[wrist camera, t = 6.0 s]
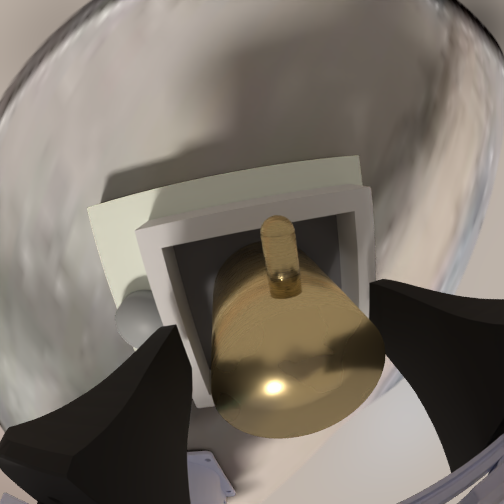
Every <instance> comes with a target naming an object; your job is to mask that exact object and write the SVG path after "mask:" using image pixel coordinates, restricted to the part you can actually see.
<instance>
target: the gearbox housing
mask: <svg viewBox="0 0 504 504" xmlns="http://www.w3.org/2000/svg"><path fill="white" fill-rule="evenodd" d="M87 211H88V215H89V219H90V223H91V227H92V231H93V235H94V239H95V242H96V246H97V249H98V253H99V256H100V259H101V263H102V266H103V269H104V272H105V275H106V278H107V281H108V284H109V287H110V290H111V293H112V296H113V298H114V301H115V304H116V306H117V311H116V315H115V323H116V327H117V330H118V332H119V334H120V335H121V337H122V338H123V339H124V340H125V341H126V342H127V343H128V344H130V345H131V346H133V348H134V350H135V351H136V350H137V349H138V348H139V347H140V346H141V345H142V344H143V343H144V342H145V341H146V340H147V339H148V338H149V337H150V336H151V335H152V334H153V333H154V332H155V331H156V330H157V329H158V328H160V327H162V326H169V325H175V324H176V325H177V328H178V330H179V333H180V336H181V339H182V342H183V345H184V348H185V350H186V353H187V356H188V358H189V361H190V364H191V366H192V380H193V392H192V398H193V400H194V402H195V405H196V407H197V408H204V407H212V406H215V405H214V402H213V399H212V393H211V348H212V311H213V289H214V283H215V279H216V276H217V274H218V272H219V270H220V268H221V267H222V265H223V264H224V263H225V261H226V260H227V259H228V258H229V257H230V256H231V255H232V254H234V253H235V252H236V251H238V250H239V249H241V248H243V247H245V246H247V245H249V244H252V243H256V242H260V241H261V236H260V229H261V226H262V224H263V222H264V221H265V220H266V219H267V218H269V217H271V216H273V215H281V216H284V217H286V218H288V219H289V220H290V221H291V222H292V224H293V226H294V229H295V236H296V243H297V248H299V249H300V250H302V251H303V252H304V253H305V254H307V255H308V256H309V257H310V258H311V259H312V260H313V261H314V262H315V263H316V265H317V266H318V267H319V268H320V269H321V270H322V271H323V272H324V273H325V274H326V275H327V276H328V277H329V278H330V279H331V280H332V281H333V282H334V283H335V284H336V285H337V286H338V287H339V288H340V289H341V290H342V291H343V292H344V293H345V294H346V295H347V296H348V297H349V298H350V299H351V301H352V302H353V303H354V304H355V305H356V306H357V307H358V308H359V309H360V310H361V311H362V312H363V313H364V314H365V315H366V316H367V317H368V319H369V283H370V282H374V281H376V262H375V233H374V217H373V204H372V192H371V187H368V186H363V184H362V176H361V167H360V160H359V155H353V156H340V157H331V158H322V159H313V160H305V161H298V162H290V163H283V164H276V165H270V166H264V167H257V168H251V169H246V170H240V171H234V172H229V173H224V174H219V175H214V176H209V177H204V178H199V179H194V180H190V181H185V182H181V183H176V184H172V185H168V186H163V187H159V188H155V189H151V190H147V191H143V192H140V193H136V194H132V195H128V196H125V197H121V198H117V199H114V200H110V201H107V202H103V203H100V204H97V205H94V206H91V207H88V208H87Z"/></svg>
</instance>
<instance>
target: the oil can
mask: <svg viewBox="0 0 504 504" xmlns="http://www.w3.org/2000/svg"><path fill="white" fill-rule="evenodd" d="M260 236H261V241H260V242H256V243H252V244H249V245H247V246H245V247H243V248H241V249H239V250H238V251H236V252H235V253H234V254H232V255H231V256H230V257H229V258H228V259H227V260H226V261H225V263H224V264H223V265H222V267H221V268H220V270H219V272H218V274H217V276H216V279H215V283H214V289H213V311H212V348H211V393H212V399H213V402H214V405H215V407H216V409H217V411H218V412H219V413H220V415H221V416H222V417H223V418H224V419H225V420H226V421H227V422H228V423H229V424H231V425H232V426H234V427H235V428H237V429H239V430H241V431H243V432H245V433H248V434H251V435H255V436H259V437H265V438H293V437H299V436H304V435H308V434H312V433H315V432H318V431H321V430H323V429H326V428H328V427H330V426H332V425H334V424H336V423H338V422H339V421H341V420H342V419H344V418H346V417H347V416H348V415H350V414H351V413H352V412H354V411H355V410H356V409H357V408H358V407H359V406H360V405H361V404H362V403H363V402H364V401H365V400H366V399H367V398H368V397H369V395H370V394H371V393H372V391H373V390H374V388H375V387H376V385H377V383H378V381H379V379H380V377H381V374H382V371H383V368H384V363H385V345H384V341H383V338H382V336H381V334H380V332H379V330H378V329H377V328H376V326H375V325H374V324H373V323H372V322H371V321H370V320H369V319H368V317H367V316H366V315H365V314H364V313H363V312H362V311H361V310H360V309H359V308H358V307H357V306H356V305H355V304H354V303H353V302H352V301H351V299H350V298H349V297H348V296H347V295H346V294H345V293H344V292H343V291H342V290H341V289H340V288H339V287H338V286H337V285H336V284H335V283H334V282H333V281H332V280H331V279H330V278H329V277H328V276H327V275H326V274H325V273H324V272H323V271H322V270H321V269H320V268H319V267H318V266H317V265H316V263H315V262H314V261H313V260H312V259H311V258H310V257H309V256H308V255H307V254H305V253H304V252H303V251H302V250H300V249H299V248H297V243H296V236H295V229H294V226H293V224H292V222H291V221H290V220H289V219H288V218H286V217H284V216H281V215H273V216H271V217H269V218H267V219H266V220H265V221H264V222H263V224H262V226H261V229H260Z"/></svg>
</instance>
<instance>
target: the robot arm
mask: <svg viewBox="0 0 504 504" xmlns="http://www.w3.org/2000/svg"><path fill="white" fill-rule="evenodd" d="M369 320H370V321H371V322H372V323H373V324H374V325H375V326H376V328H377V329H378V330H379V332H380V334H381V336H382V338H383V341H384V345H385V354H386V355H387V357H388V358H389V359H390V360H391V362H392V363H393V364H394V365H395V367H396V368H397V369H398V370H399V371H400V373H401V374H402V375H403V376H404V378H405V379H406V380H407V381H408V383H409V384H410V385H411V387H412V388H413V390H414V391H415V392H416V394H417V396H418V398H419V399H420V401H421V403H422V404H423V406H424V408H425V410H426V412H427V414H428V416H429V418H430V419H431V421H432V423H433V425H434V427H435V430H436V432H437V434H438V436H439V439H440V441H441V444H442V446H443V449H444V452H445V455H446V457H447V460H448V463H449V466H450V470H451V474H449V475H448V476H446V477H445V478H443V479H442V480H440V481H438V482H437V483H435V484H433V485H432V486H430V487H428V488H426V489H424V490H423V491H421V492H419V493H417V494H415V495H413V496H411V497H410V498H407V499H406V500H403V501H401V502H400V503H397V504H445V503H446V502H448V501H450V500H451V499H453V498H454V497H456V496H457V495H459V494H460V493H461V492H463V491H464V490H466V489H467V488H468V487H470V486H471V485H473V484H474V483H475V482H477V481H478V480H479V479H480V478H482V477H483V476H484V475H486V474H487V473H488V472H489V474H488V476H487V477H486V478H484V479H483V480H482V481H481V482H480V483H478V484H477V485H476V486H475V487H474V488H473V489H472V490H471V491H470V492H469V493H468V494H467V495H466V496H465V497H464V498H463V499H462V500H461V501H460V502H459V503H457V504H504V299H502V300H501V299H478V298H470V297H462V296H456V295H451V294H446V293H441V292H437V291H433V290H429V289H425V288H421V287H417V286H413V285H409V284H406V283H402V282H397V281H393V280H387V279H381V280H378V281H374V282H370V283H369ZM192 392H193V380H192V366H191V364H190V361H189V358H188V356H187V353H186V350H185V348H184V345H183V342H182V339H181V336H180V333H179V330H178V328H177V325H176V324H175V325H169V326H162V327H160V328H158V329H157V330H156V331H155V332H154V333H153V334H152V335H151V336H150V337H149V338H148V339H147V340H146V341H145V342H144V343H143V344H142V345H141V346H140V347H139V348H138V349H137V350H136V351H135V352H134V353H133V354H132V355H131V356H130V357H129V358H128V359H127V360H126V361H125V362H124V363H123V364H122V365H121V366H120V367H118V368H117V369H116V370H115V371H114V372H113V373H112V374H111V375H109V376H108V377H107V378H106V379H105V380H103V381H102V382H101V383H99V384H98V385H97V386H95V387H94V388H93V389H91V390H90V391H88V392H87V393H85V394H84V395H82V396H80V397H79V398H77V399H75V400H74V401H72V402H70V403H69V404H67V405H65V406H63V407H61V408H59V409H57V410H55V411H53V412H51V413H49V414H47V415H44V416H42V417H39V418H37V419H34V420H31V421H28V422H25V423H22V424H19V425H16V426H12V427H9V428H8V429H7V431H6V432H5V434H4V436H3V438H2V440H1V441H0V468H1V470H2V471H3V472H4V473H5V474H6V475H7V476H8V477H9V478H10V479H11V480H12V481H13V482H15V483H16V484H17V485H18V486H19V487H20V488H22V489H23V490H24V491H25V492H27V493H28V494H29V495H30V496H32V497H33V498H34V499H35V500H37V501H38V503H37V504H227V499H226V497H230V496H235V495H236V491H235V490H234V488H233V487H232V485H231V484H230V482H229V480H228V479H227V477H226V476H225V474H224V472H223V471H222V469H221V467H220V466H219V464H218V462H217V461H216V459H215V457H214V455H213V454H212V453H211V452H210V451H195V452H187V438H188V428H189V419H190V410H191V401H192ZM0 504H28V503H26V502H24V501H22V500H20V499H18V498H16V497H14V496H12V495H10V494H8V493H3V496H2V499H1V501H0Z"/></svg>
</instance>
